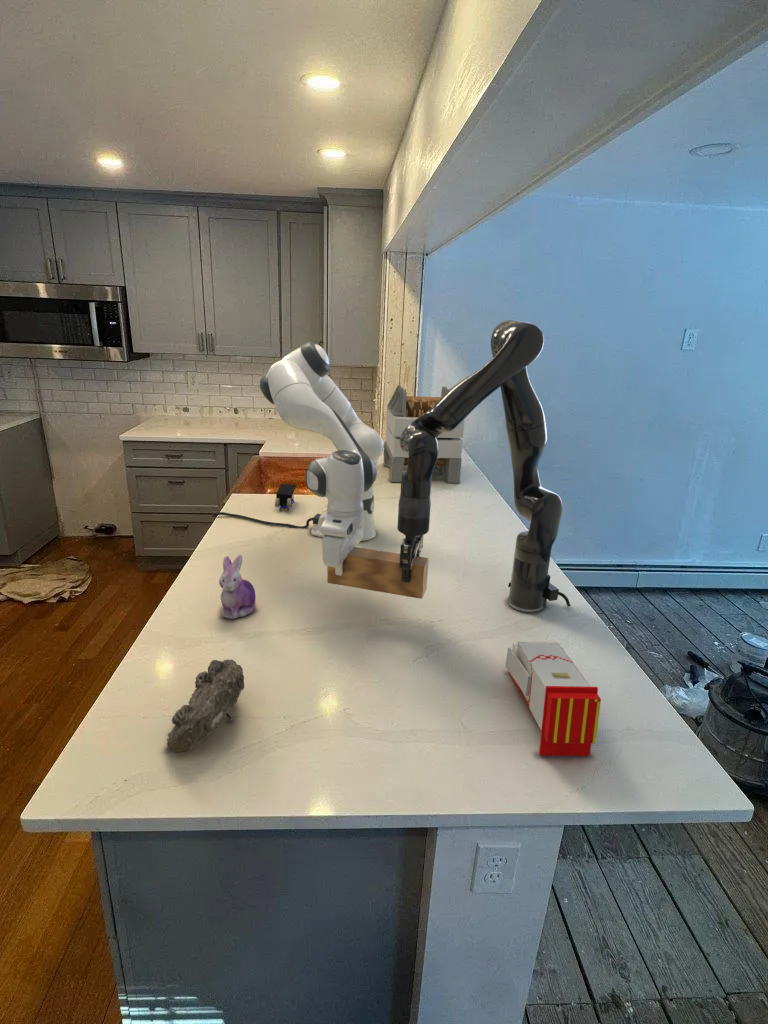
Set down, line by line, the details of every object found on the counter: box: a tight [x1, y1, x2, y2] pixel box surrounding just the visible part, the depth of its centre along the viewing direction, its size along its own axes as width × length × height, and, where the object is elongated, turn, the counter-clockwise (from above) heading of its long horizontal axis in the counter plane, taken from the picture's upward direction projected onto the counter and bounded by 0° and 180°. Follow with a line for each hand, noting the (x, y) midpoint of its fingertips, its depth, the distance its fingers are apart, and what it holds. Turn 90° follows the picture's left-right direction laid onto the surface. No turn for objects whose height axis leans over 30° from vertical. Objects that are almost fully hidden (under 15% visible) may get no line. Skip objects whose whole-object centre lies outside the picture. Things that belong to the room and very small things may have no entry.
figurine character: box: [274, 483, 297, 512], centre depth 220 cm, size 7×8×15 cm
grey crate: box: [383, 384, 465, 484], centre depth 268 cm, size 34×33×41 cm
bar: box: [326, 546, 430, 600], centre depth 141 cm, size 24×5×9 cm, turn 74°
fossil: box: [166, 658, 245, 754], centre depth 106 cm, size 22×10×15 cm
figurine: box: [218, 554, 256, 619], centre depth 143 cm, size 9×10×15 cm
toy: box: [505, 641, 602, 757], centre depth 113 cm, size 12×13×30 cm
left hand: (344, 568), depth 144 cm, fingers closed on bar, 5 cm apart
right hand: (410, 574), depth 139 cm, fingers open, 8 cm apart
